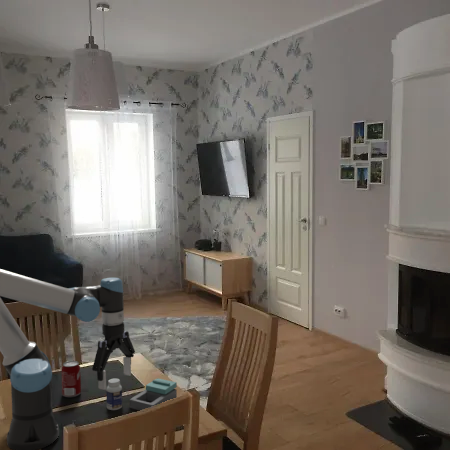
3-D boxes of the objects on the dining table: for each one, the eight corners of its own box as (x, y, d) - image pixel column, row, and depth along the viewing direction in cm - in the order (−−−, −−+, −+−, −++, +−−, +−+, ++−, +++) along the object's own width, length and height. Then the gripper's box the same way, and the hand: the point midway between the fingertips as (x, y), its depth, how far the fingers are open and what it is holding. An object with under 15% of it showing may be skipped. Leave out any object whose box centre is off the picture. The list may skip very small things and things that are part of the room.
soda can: (75, 399, 187) (74, 367, 186) (58, 397, 188) (57, 365, 187) (84, 391, 193) (83, 360, 192) (67, 390, 195) (67, 359, 194)
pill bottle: (114, 412, 177) (114, 384, 176) (103, 408, 180) (102, 381, 179) (125, 406, 181) (125, 379, 180) (114, 402, 184) (113, 376, 183)
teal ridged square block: (165, 394, 183) (165, 387, 183) (145, 390, 187) (145, 383, 187) (176, 387, 190) (176, 380, 190) (157, 382, 194) (157, 376, 193)
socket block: (153, 413, 175) (152, 405, 175) (129, 407, 180) (129, 399, 180) (176, 397, 189) (176, 389, 188) (154, 392, 193) (154, 384, 193)
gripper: (97, 334, 165) (99, 397, 167) (143, 314, 187) (145, 371, 189) (79, 331, 168) (82, 393, 170) (126, 312, 190) (128, 367, 192)
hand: (115, 381), depth 180 cm, fingers open, 13 cm apart
